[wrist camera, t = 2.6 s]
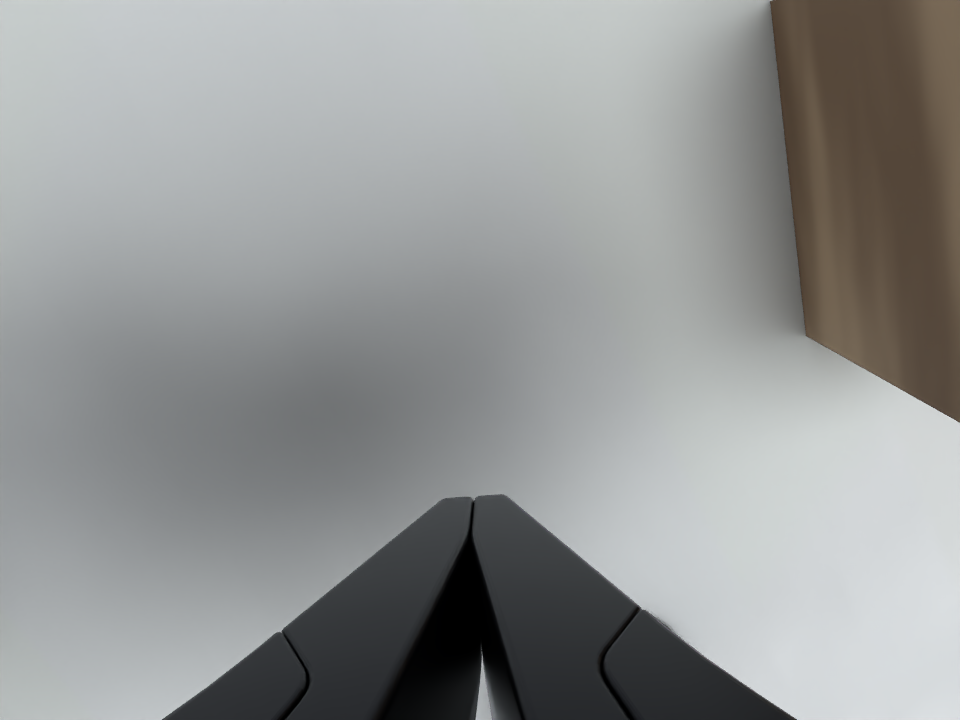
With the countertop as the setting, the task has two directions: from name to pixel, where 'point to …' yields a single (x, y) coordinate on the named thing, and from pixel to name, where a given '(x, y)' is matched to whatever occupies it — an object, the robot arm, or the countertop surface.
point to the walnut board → (877, 183)
